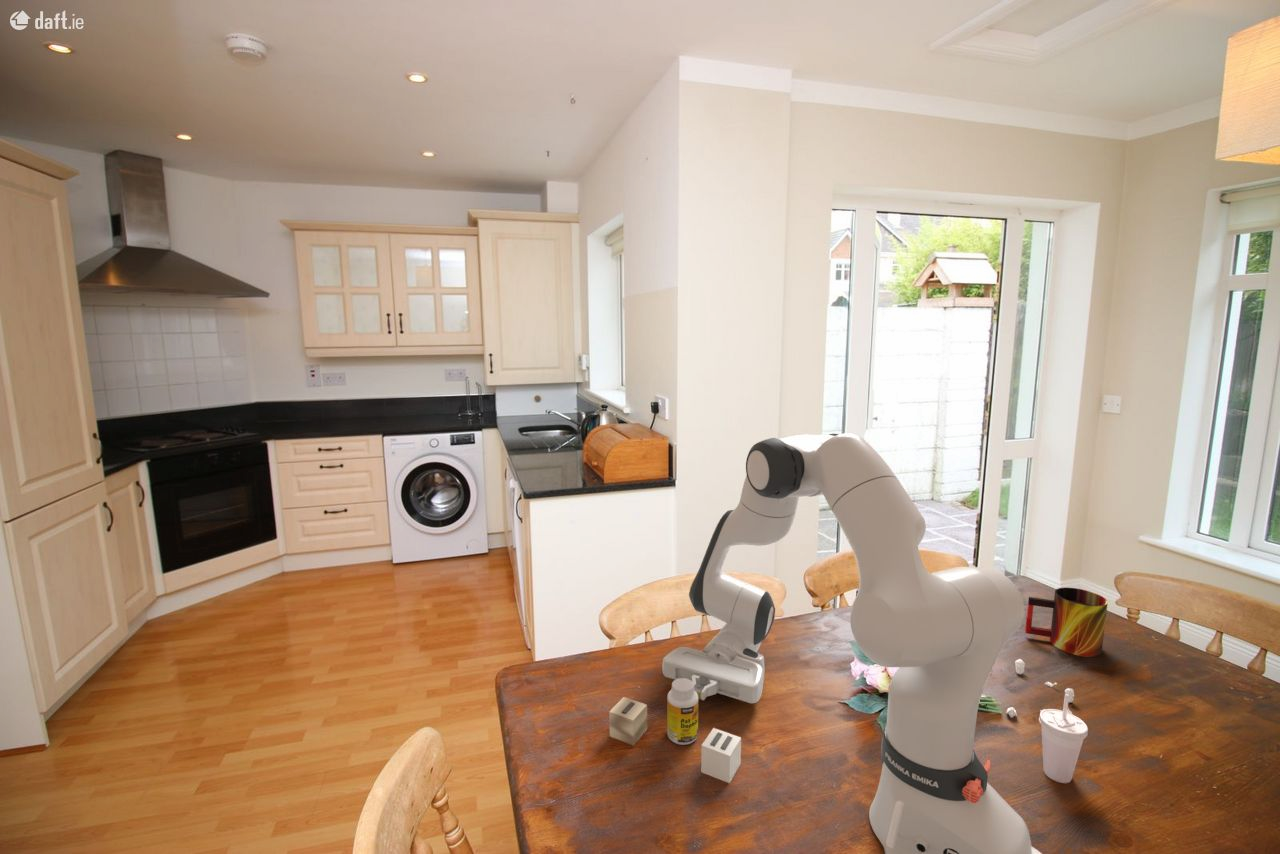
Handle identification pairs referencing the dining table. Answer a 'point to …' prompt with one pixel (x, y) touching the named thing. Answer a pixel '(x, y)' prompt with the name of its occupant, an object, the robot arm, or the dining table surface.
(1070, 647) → the mug
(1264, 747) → the dining table surface
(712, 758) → the marked off-white block
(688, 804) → the dining table surface
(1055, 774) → the smoothie
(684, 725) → the supplement bottle
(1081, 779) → the dining table surface
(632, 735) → the marked birch block
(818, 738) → the dining table surface
